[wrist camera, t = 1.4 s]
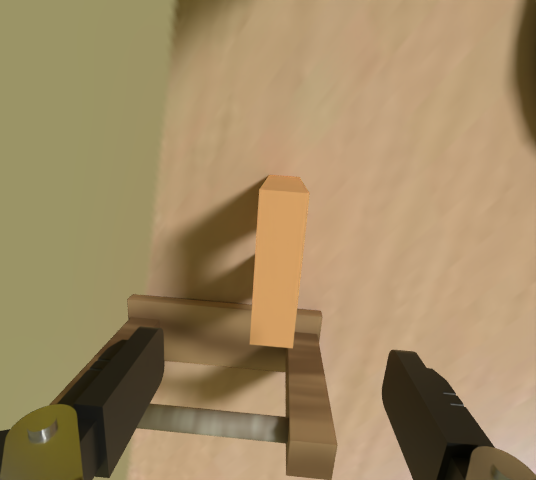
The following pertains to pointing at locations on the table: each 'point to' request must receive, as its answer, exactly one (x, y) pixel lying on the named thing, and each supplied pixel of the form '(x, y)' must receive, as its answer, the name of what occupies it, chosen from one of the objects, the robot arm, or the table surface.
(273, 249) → the orange block
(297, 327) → the rail
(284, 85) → the table surface
